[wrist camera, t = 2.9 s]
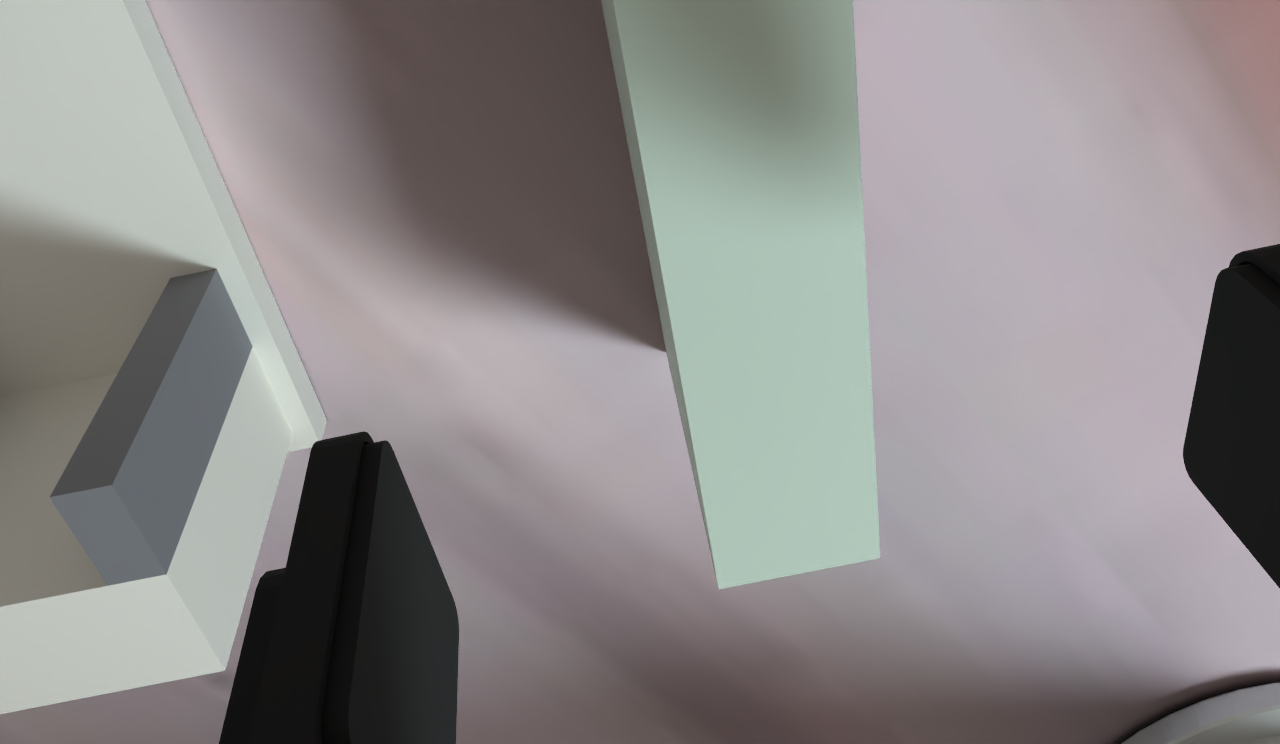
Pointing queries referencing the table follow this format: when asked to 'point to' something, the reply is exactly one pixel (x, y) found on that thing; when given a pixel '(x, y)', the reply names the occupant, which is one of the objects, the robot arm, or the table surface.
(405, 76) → the table surface
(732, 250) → the door panel
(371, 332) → the table surface
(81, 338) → the hinge frame
